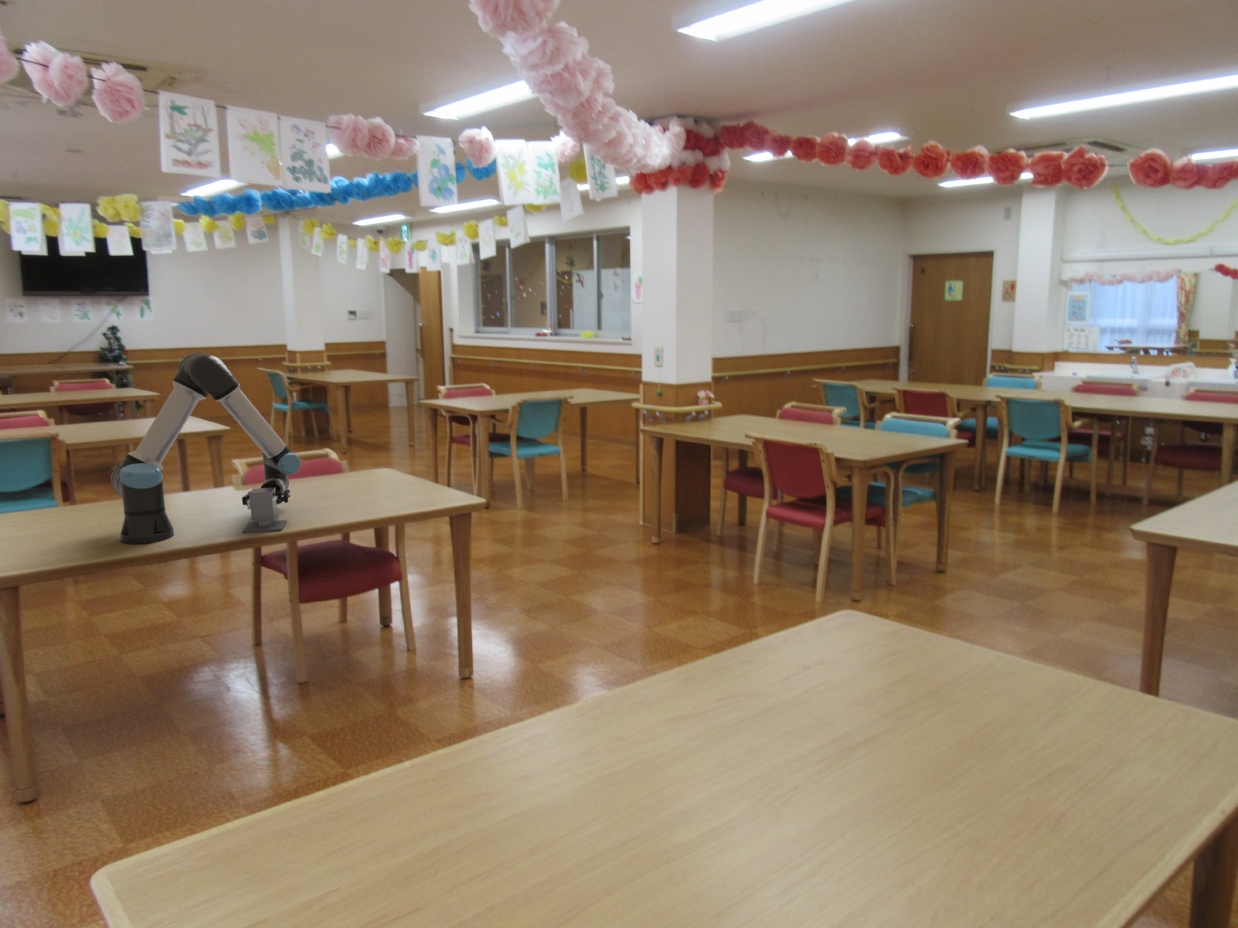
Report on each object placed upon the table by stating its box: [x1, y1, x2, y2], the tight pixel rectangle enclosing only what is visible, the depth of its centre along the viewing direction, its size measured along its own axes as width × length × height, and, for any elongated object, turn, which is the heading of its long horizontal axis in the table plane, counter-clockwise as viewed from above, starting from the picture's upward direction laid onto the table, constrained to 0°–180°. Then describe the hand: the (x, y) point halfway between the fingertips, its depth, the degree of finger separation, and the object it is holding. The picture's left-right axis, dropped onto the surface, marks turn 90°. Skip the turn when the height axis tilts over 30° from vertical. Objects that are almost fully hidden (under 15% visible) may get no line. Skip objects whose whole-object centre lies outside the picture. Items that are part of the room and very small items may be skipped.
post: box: [259, 522, 271, 527], centre depth 294 cm, size 3×3×4 cm
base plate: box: [242, 519, 288, 534], centre depth 294 cm, size 12×12×1 cm
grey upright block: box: [249, 487, 279, 523], centre depth 293 cm, size 7×7×10 cm
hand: (261, 504), depth 288 cm, fingers closed on grey upright block, 7 cm apart
